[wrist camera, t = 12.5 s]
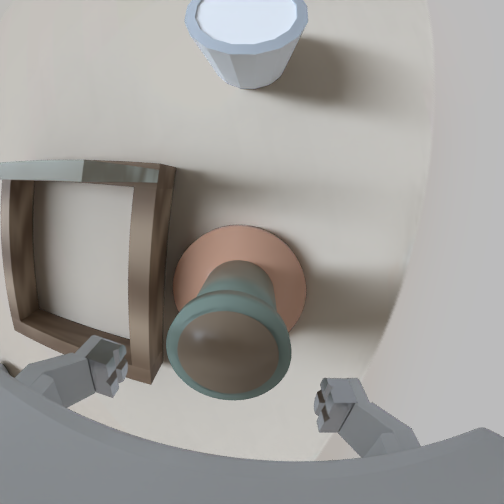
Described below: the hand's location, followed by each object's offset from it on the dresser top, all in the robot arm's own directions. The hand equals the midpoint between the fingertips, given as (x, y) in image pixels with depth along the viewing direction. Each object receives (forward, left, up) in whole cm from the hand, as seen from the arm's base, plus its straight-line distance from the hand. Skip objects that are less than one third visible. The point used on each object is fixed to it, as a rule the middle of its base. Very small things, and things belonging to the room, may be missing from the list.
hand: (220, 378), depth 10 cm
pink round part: (0, 0, -11) cm, 11 cm away
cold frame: (+1, -14, -11) cm, 18 cm away
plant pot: (0, 0, -10) cm, 10 cm away
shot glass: (-18, -2, -12) cm, 21 cm away
